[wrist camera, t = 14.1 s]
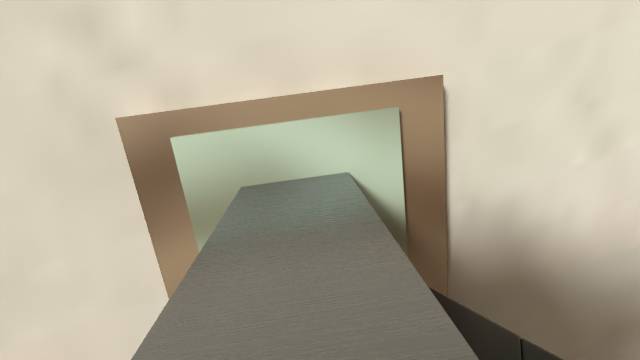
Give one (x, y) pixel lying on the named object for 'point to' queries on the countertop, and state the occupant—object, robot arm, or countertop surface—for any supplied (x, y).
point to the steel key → (303, 285)
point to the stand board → (295, 164)
